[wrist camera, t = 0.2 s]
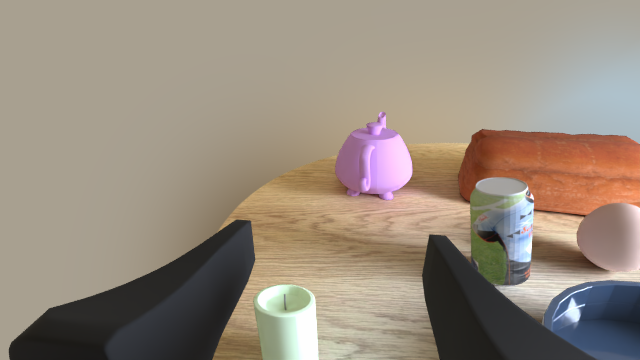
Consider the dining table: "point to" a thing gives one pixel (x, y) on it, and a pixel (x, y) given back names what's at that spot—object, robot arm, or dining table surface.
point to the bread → (557, 167)
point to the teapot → (374, 161)
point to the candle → (286, 323)
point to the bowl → (599, 318)
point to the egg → (612, 237)
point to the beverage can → (502, 230)
